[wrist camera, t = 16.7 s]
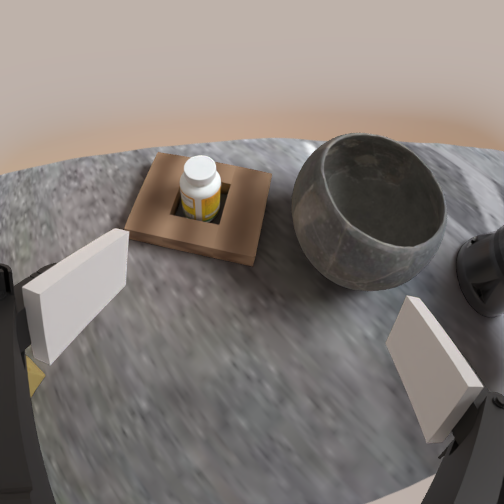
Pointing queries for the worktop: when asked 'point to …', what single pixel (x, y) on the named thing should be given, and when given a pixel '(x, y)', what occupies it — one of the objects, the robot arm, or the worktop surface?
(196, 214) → the supplement bottle
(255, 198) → the well board
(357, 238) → the bowl
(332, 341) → the worktop surface
